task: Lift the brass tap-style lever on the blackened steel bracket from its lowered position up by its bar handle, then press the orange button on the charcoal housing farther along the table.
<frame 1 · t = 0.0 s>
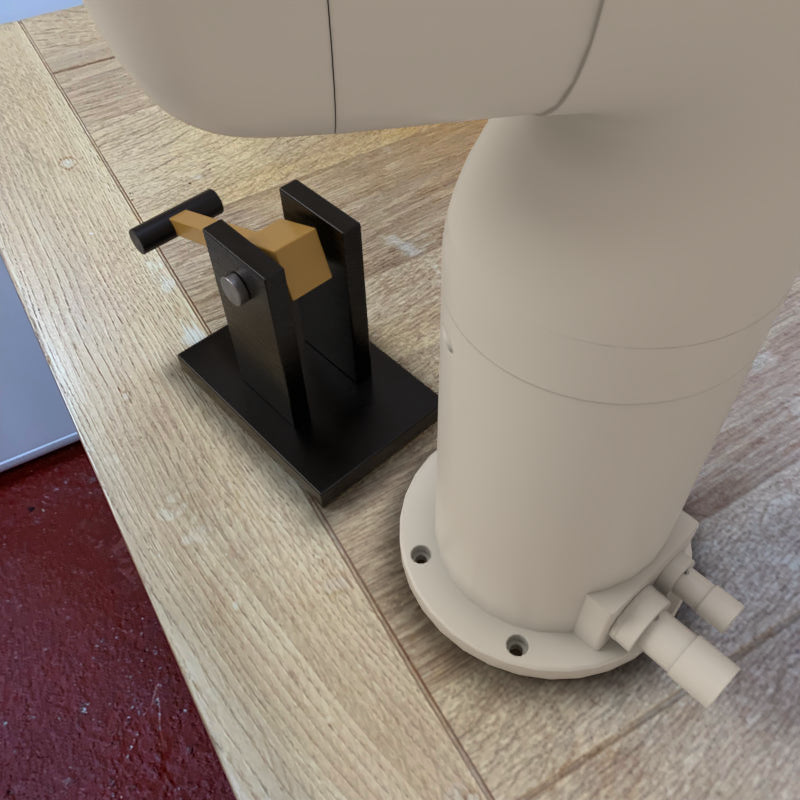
lever: (229, 239, 38), point 7 cm above the table, hinge at -20.0°
bracket: (309, 391, 41), on the table
button: (341, 17, 58), point 4 cm above the table, slide at 0.1 cm
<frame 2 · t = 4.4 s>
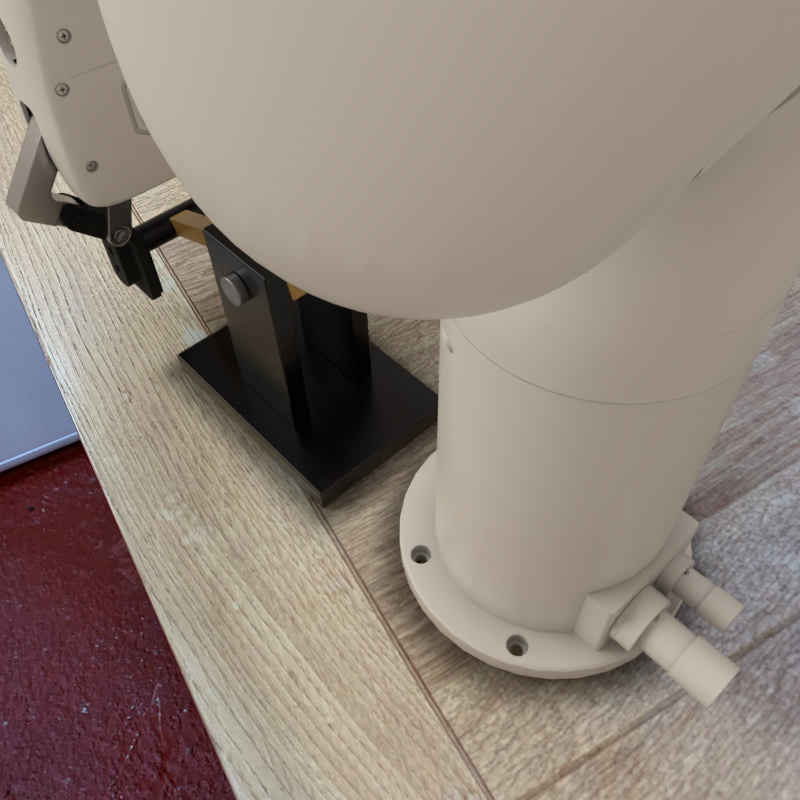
hand: (188, 258, 44), 3 cm above the table, tool pointing down, fingers closed on lever, 5 cm apart
lever: (229, 239, 38), point 7 cm above the table, hinge at -20.0°, touching gripper
everything else where it was.
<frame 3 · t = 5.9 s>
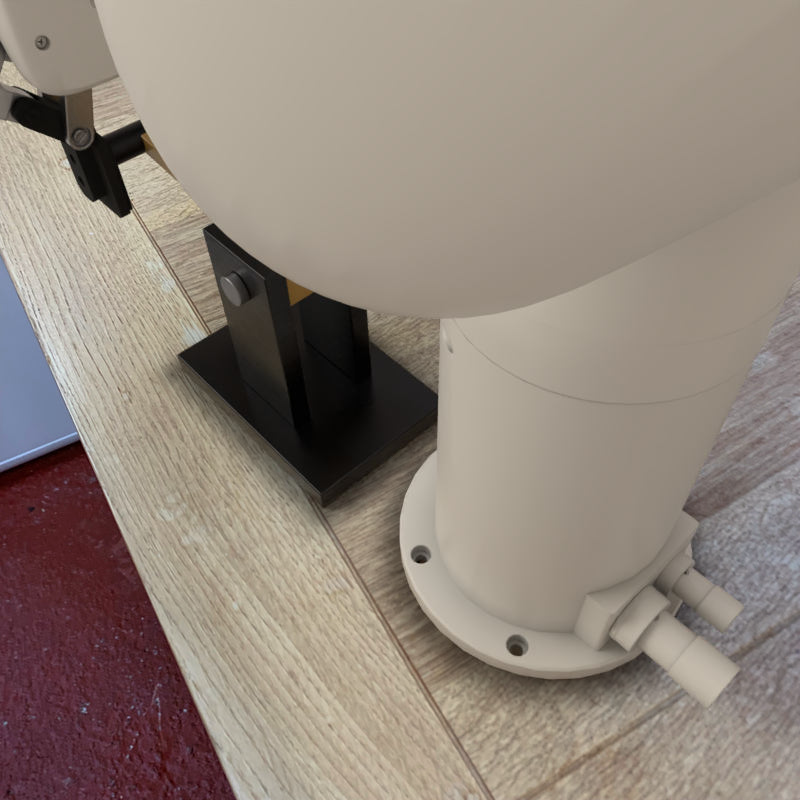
hand: (161, 175, 40), 8 cm above the table, tool pointing down, fingers closed on lever, 5 cm apart
lever: (216, 196, 36), point 10 cm above the table, hinge at 6.0°, touching gripper
everything else where it was.
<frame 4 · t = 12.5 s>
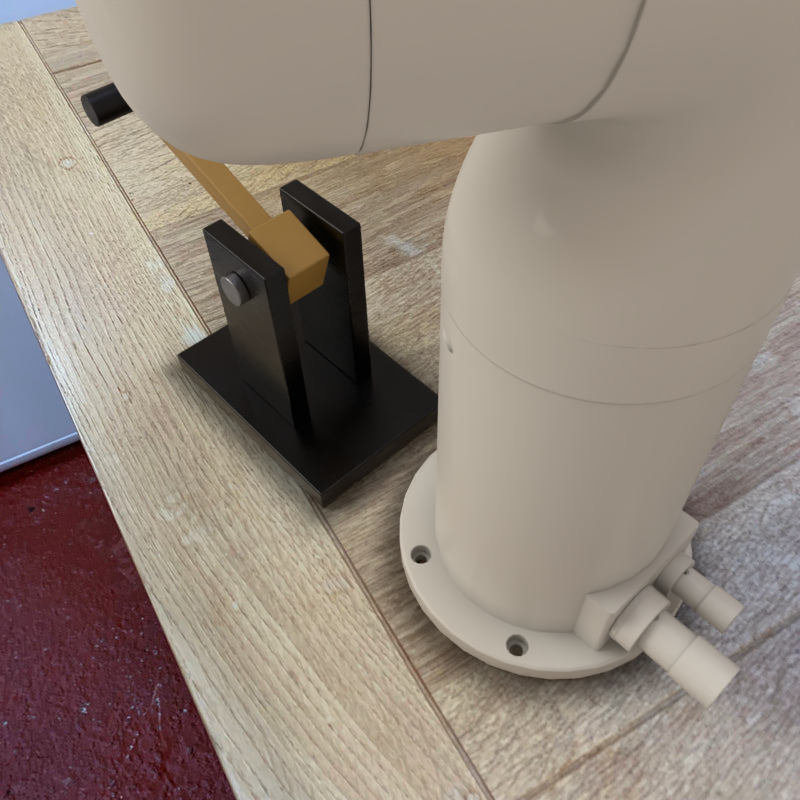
hand: (340, 7, 58), 5 cm above the table, tool pointing down, fingers closed
lever: (215, 177, 35), point 11 cm above the table, hinge at 19.4°
button: (341, 21, 58), point 4 cm above the table, slide at -0.2 cm, touching gripper
everything else where it was.
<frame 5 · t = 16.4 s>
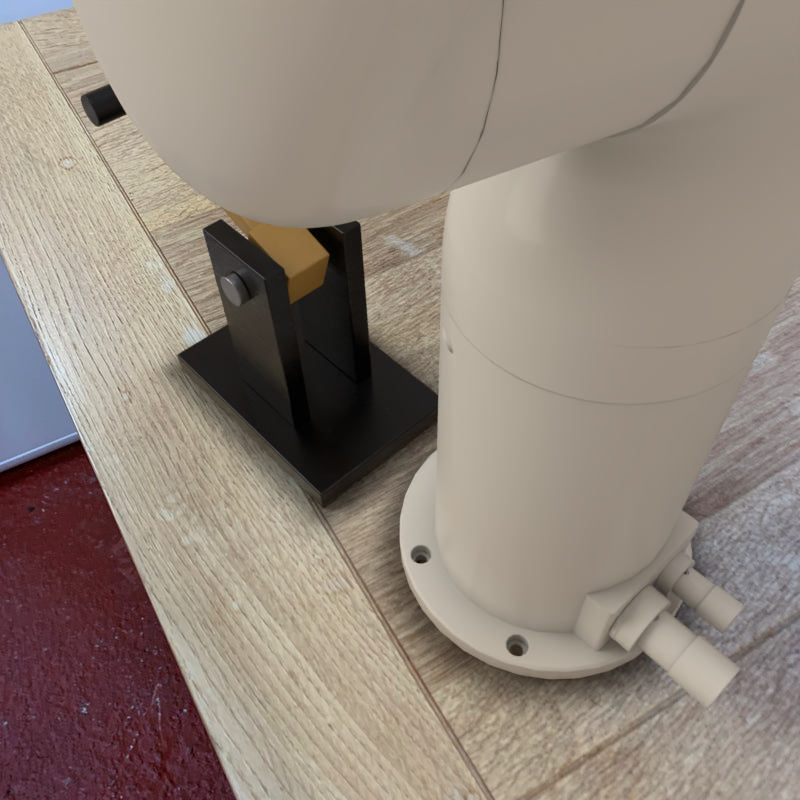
button: (341, 17, 58), point 4 cm above the table, slide at 0.1 cm
everything else where it was.
at the end: lever at +19° (first picture: -20°); button pushed in 1.1 cm at the most during the clip, back to where it started at the end; button slide at 0.1 cm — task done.
